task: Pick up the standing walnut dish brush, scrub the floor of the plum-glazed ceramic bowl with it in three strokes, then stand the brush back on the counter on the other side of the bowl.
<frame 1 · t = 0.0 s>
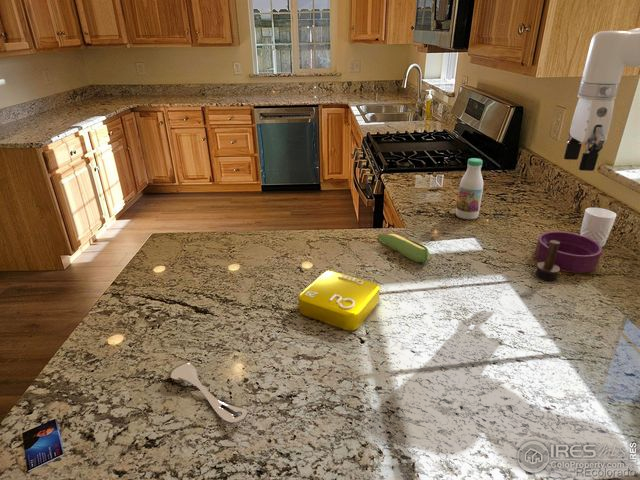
hand: (578, 164, 104), 28 cm above the countertop, tool pointing down, fingers open, 9 cm apart
dish brush: (545, 276, 111), on the countertop
bowl: (564, 260, 119), on the countertop
white kitchen utensil: (207, 397, 75), on the countertop
white cup: (591, 243, 129), on the countertop
edible corn: (401, 252, 124), on the countertop
element tile: (339, 306, 100), on the countertop
milk bottle: (466, 216, 149), on the countertop
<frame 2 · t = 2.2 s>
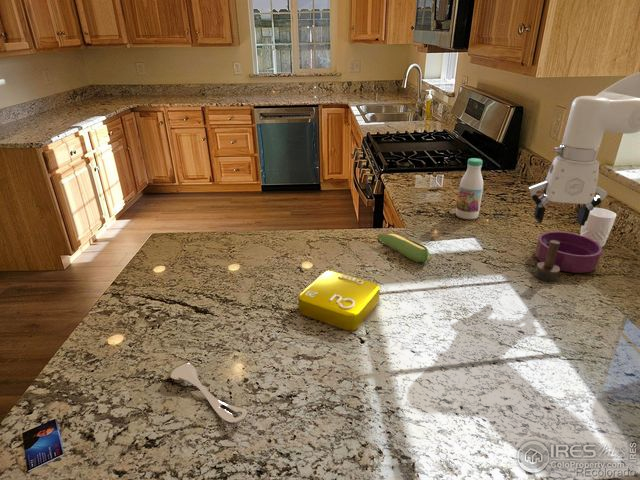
hand: (558, 222, 104), 16 cm above the countertop, tool pointing down, fingers open, 9 cm apart
nothing on the countertop moved.
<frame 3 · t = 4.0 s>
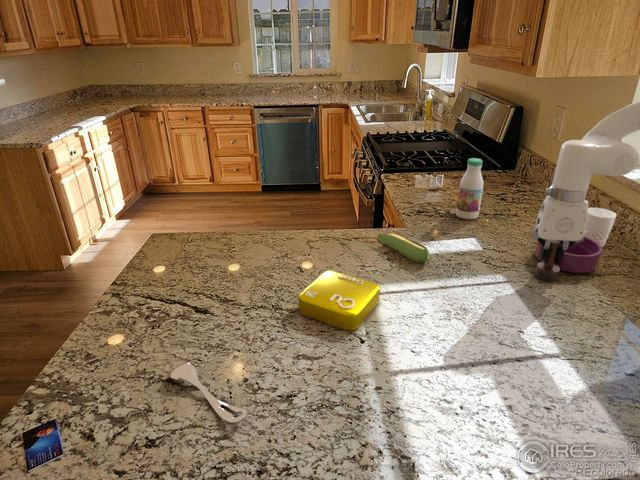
hand: (550, 260, 109), 5 cm above the countertop, tool pointing down, fingers closed on dish brush
dish brush: (545, 276, 111), on the countertop, touching gripper
everything else where it was.
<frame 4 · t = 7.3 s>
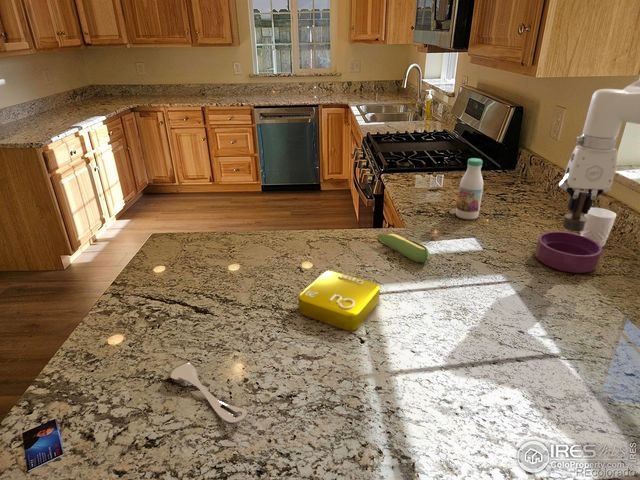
hand: (577, 211, 112), 15 cm above the countertop, tool pointing down, fingers closed on dish brush
dish brush: (573, 227, 114), point 10 cm above the countertop, touching gripper
everything else where it was.
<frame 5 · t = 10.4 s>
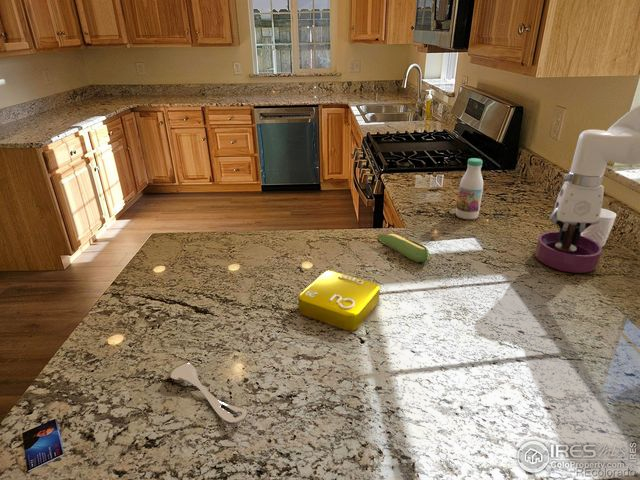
hand: (567, 242, 118), 5 cm above the countertop, tool pointing down, fingers closed on dish brush
dish brush: (563, 256, 120), point 1 cm above the countertop, touching gripper
everything else where it was.
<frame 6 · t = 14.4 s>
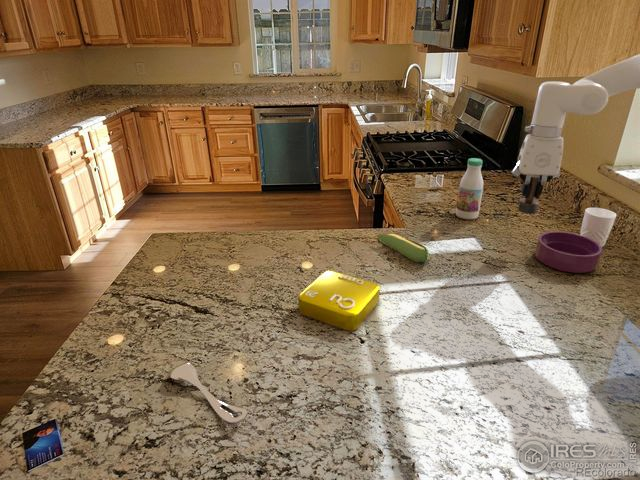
hand: (530, 196, 120), 16 cm above the countertop, tool pointing down, fingers closed on dish brush
dish brush: (527, 210, 123), point 11 cm above the countertop, touching gripper
everything else where it was.
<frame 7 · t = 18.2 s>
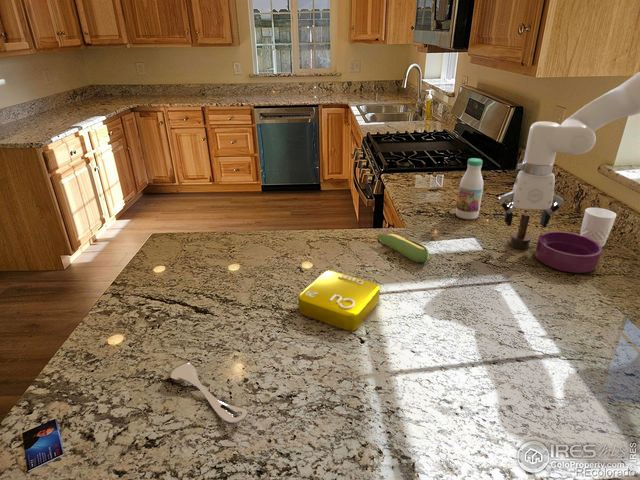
hand: (525, 225, 124), 7 cm above the countertop, tool pointing down, fingers open, 9 cm apart
dish brush: (519, 245, 128), on the countertop
everything else where it was.
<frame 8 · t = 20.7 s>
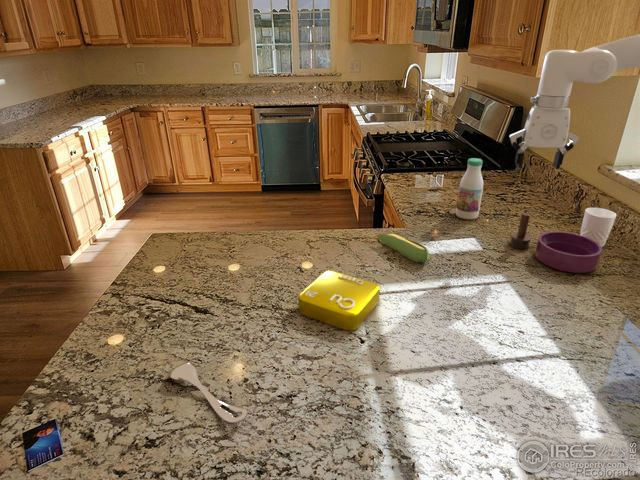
hand: (537, 166, 117), 24 cm above the countertop, tool pointing down, fingers open, 9 cm apart
nothing on the countertop moved.
at the end: dish brush 0.1 cm from the target spot, on the countertop; dish brush tilted 0°; the gripper is holding nothing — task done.
